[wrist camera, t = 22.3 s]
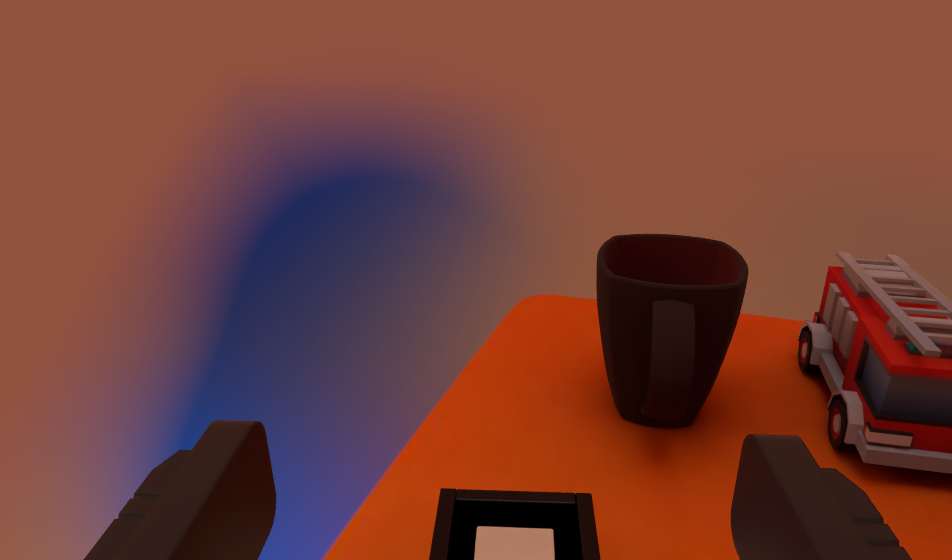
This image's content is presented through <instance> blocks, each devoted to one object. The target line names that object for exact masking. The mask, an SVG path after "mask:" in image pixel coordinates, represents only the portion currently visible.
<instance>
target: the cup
mask: <svg viewBox="0 0 952 560" xmlns="http://www.w3.org/2000/svg"><path fill="white" fill-rule="evenodd" d="M747 278H748V266H747V264H746V262H745V260H744V259H743V257H742V256H741V255H740V254H739V253H738V252H737V251H736V250H735V249H733V248H732V247H731V246H729V245H728V244H726V243H724V242H721V241H716V240H711V239H705V238H699V237H691V236H681V235H668V234H631V235H618V236H614V237H612V238H610V239H609V240H607V241H606V242H605V243H604V244H603V245H602V246H601V248H600V249H599V252H598V255H597V306H598V317H599V325H600V333H601V341H602V348H603V354H604V361H605V366H606V372H607V376H608V380H609V385H610V389H611V392H612V396H613V399H614V403H615V406H616V408H617V410H618V412H619V414H620V415H621V417H622V418H623V419H625V420H628V421H631V422H635V423H638V424H642V425H647V426H654V427H666V428H675V427H687V426H690V425H691V424H692V423H693V421H694V420H695V418H696V417H697V415H698V413H699V411H700V410H701V408H702V406H703V404H704V403H705V401H706V399H707V397H708V395H709V393H710V391H711V389H712V387H713V384H714V382H715V380H716V378H717V375H718V373H719V370H720V368H721V365H722V363H723V360H724V358H725V355H726V352H727V350H728V347H729V344H730V342H731V339H732V336H733V333H734V330H735V327H736V324H737V321H738V318H739V314H740V310H741V306H742V302H743V298H744V293H745V289H746V284H747Z"/></svg>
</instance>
